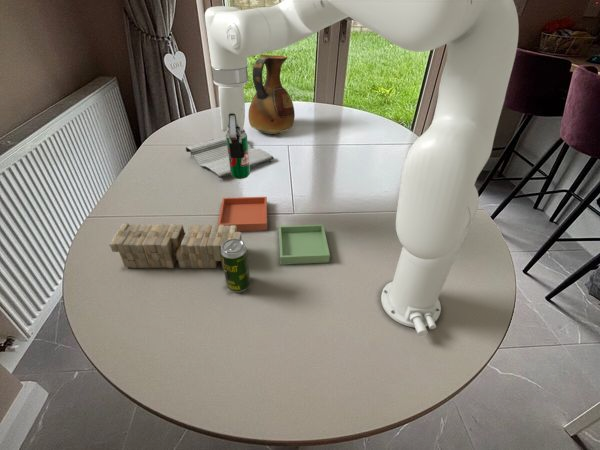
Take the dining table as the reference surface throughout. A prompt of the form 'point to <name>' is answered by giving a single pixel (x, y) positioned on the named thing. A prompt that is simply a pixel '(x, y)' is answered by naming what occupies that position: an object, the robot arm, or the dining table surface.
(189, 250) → the block tower
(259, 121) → the ceramic pitcher
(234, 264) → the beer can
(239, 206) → the terracotta tray
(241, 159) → the soda can
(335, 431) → the dining table surface
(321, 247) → the green tray
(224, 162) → the mat
